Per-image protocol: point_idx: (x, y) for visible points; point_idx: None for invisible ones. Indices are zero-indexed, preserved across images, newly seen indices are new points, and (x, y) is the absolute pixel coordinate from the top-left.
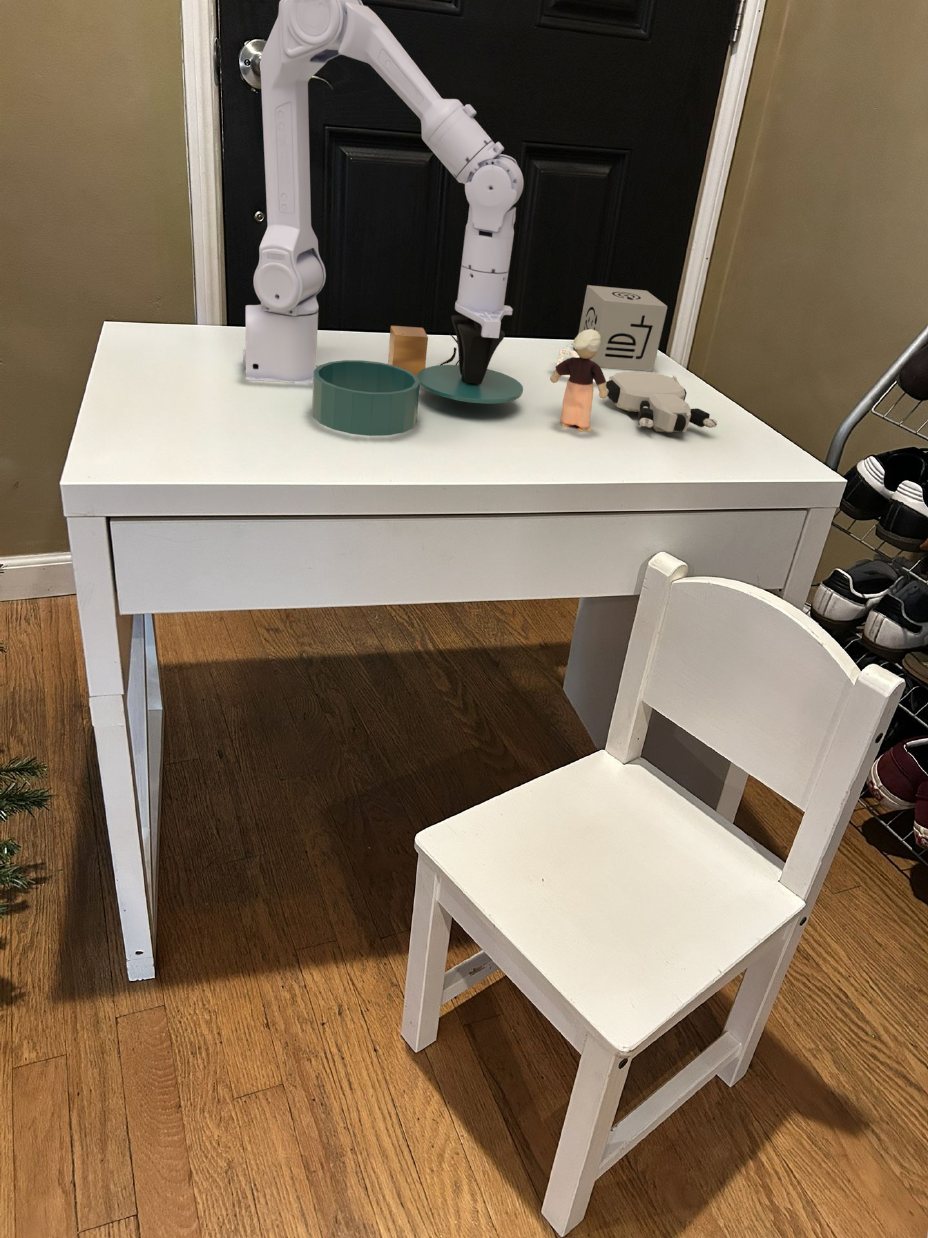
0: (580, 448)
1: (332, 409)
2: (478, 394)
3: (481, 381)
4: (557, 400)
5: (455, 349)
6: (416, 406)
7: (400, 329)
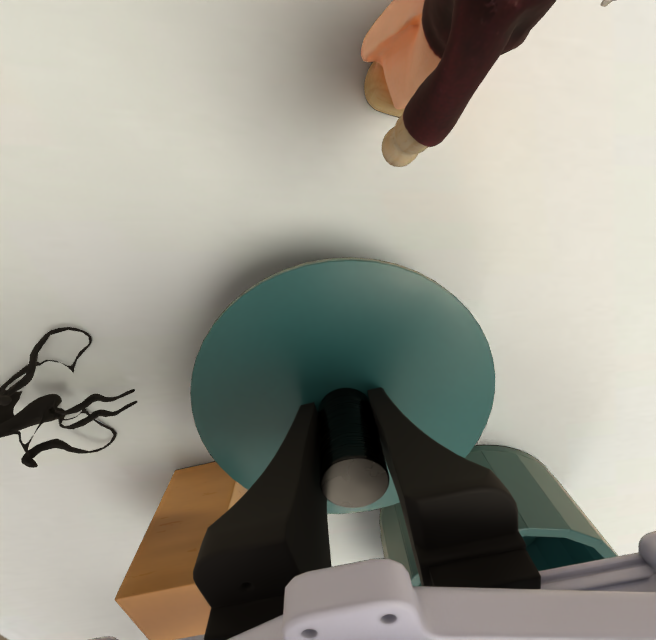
0: (566, 46)
1: None
2: (455, 384)
3: (384, 391)
4: (124, 107)
5: (31, 459)
6: (517, 482)
7: (179, 632)
